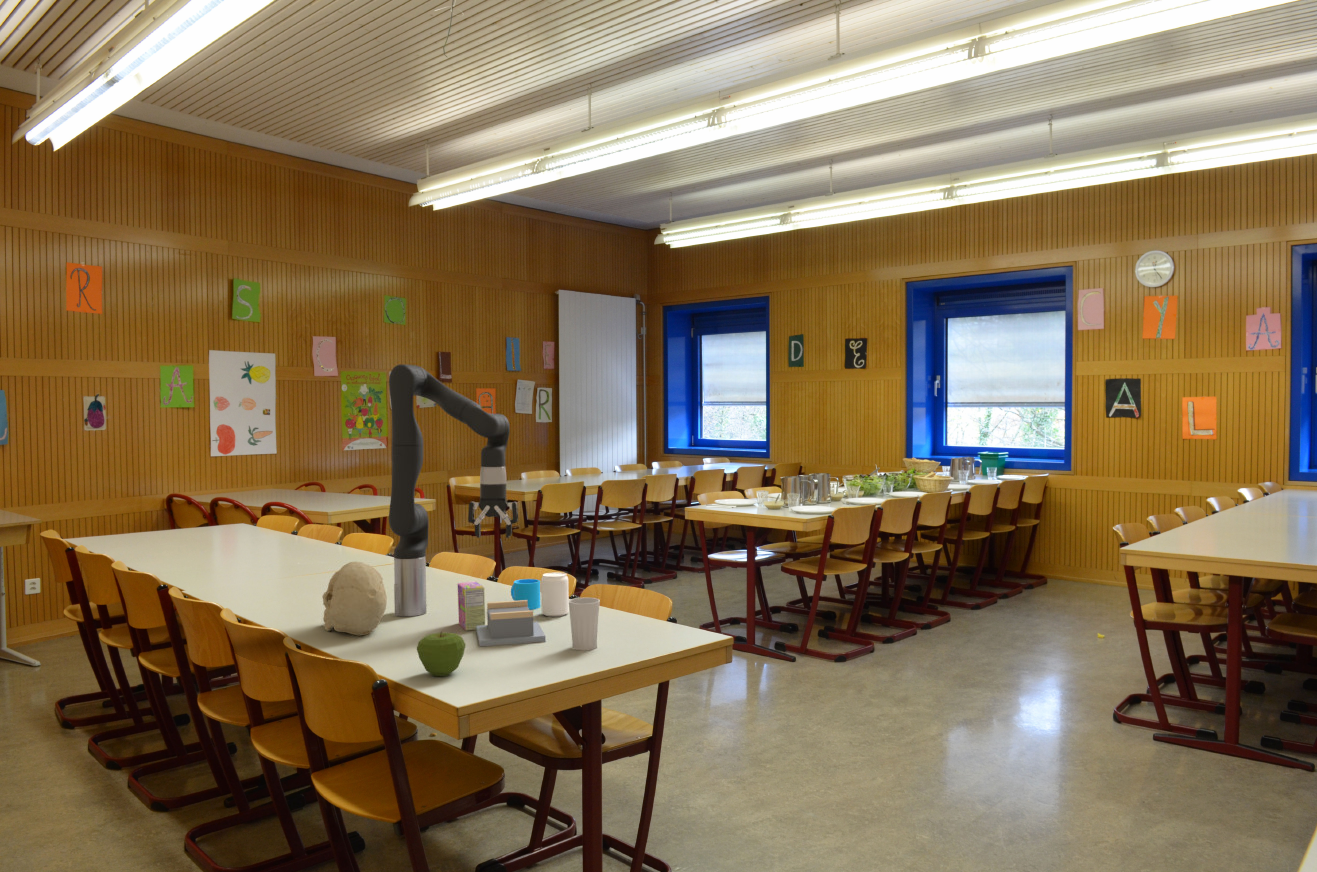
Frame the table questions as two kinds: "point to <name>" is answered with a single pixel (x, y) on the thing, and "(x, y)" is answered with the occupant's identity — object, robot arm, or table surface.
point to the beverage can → (554, 594)
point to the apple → (441, 652)
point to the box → (471, 605)
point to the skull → (354, 599)
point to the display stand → (509, 625)
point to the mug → (527, 592)
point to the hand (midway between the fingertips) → (493, 537)
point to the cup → (584, 622)
